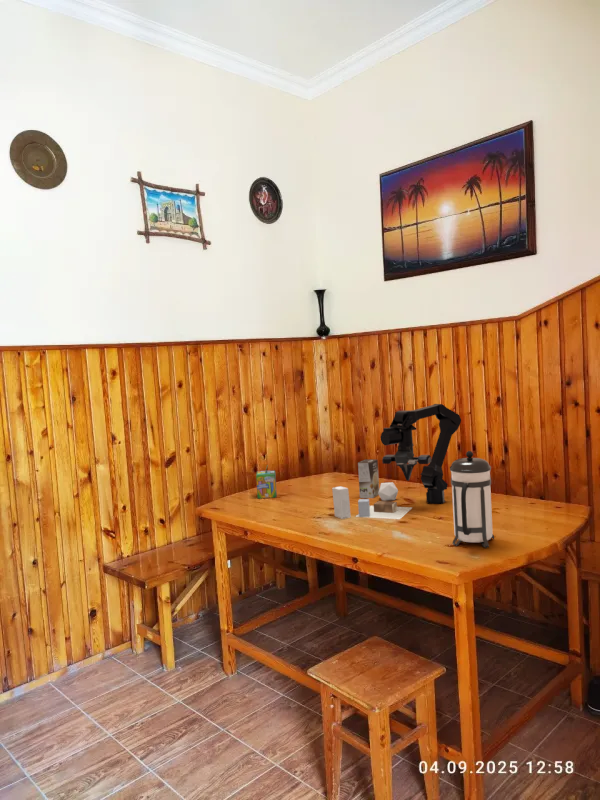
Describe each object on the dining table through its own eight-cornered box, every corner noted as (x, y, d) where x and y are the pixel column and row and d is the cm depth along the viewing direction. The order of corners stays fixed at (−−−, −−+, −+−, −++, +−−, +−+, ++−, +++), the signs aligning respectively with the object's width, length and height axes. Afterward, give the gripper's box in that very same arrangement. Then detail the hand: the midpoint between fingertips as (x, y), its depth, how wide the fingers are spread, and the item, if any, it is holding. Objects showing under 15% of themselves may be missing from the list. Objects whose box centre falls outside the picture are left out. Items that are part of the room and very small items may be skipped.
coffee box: (372, 498, 266) (370, 462, 265) (359, 498, 269) (357, 462, 268) (379, 494, 274) (377, 459, 273) (366, 493, 277) (364, 459, 276)
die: (393, 505, 254) (403, 485, 257) (375, 495, 255) (384, 475, 258) (390, 507, 262) (400, 488, 265) (373, 498, 263) (382, 479, 266)
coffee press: (439, 539, 201) (434, 450, 200) (482, 533, 205) (478, 446, 203) (464, 554, 185) (460, 457, 183) (511, 547, 188) (507, 452, 186)
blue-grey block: (370, 514, 238) (369, 499, 237) (369, 516, 234) (368, 501, 233) (359, 514, 238) (359, 499, 238) (358, 516, 234) (358, 501, 234)
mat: (412, 509, 243) (412, 507, 243) (399, 520, 227) (399, 519, 227) (370, 506, 251) (370, 505, 251) (355, 518, 235) (355, 516, 235)
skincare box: (351, 518, 235) (349, 488, 234) (341, 520, 233) (339, 489, 232) (343, 515, 240) (341, 485, 239) (333, 517, 238) (331, 487, 238)
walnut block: (396, 501, 241) (377, 501, 245) (392, 504, 237) (373, 503, 240) (397, 509, 242) (378, 508, 245) (393, 512, 237) (374, 511, 241)
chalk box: (257, 494, 289) (255, 464, 288) (276, 493, 289) (274, 463, 288) (257, 499, 280) (254, 467, 279) (276, 497, 280) (274, 466, 279)
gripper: (376, 445, 238) (379, 484, 239) (423, 445, 230) (425, 485, 231) (385, 441, 248) (387, 478, 249) (430, 440, 240) (432, 479, 241)
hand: (407, 480), depth 242 cm, fingers closed
